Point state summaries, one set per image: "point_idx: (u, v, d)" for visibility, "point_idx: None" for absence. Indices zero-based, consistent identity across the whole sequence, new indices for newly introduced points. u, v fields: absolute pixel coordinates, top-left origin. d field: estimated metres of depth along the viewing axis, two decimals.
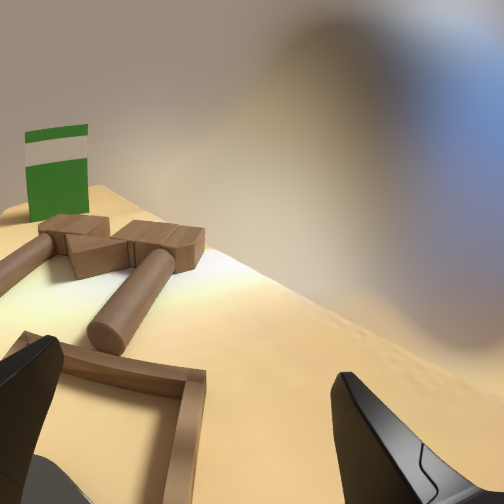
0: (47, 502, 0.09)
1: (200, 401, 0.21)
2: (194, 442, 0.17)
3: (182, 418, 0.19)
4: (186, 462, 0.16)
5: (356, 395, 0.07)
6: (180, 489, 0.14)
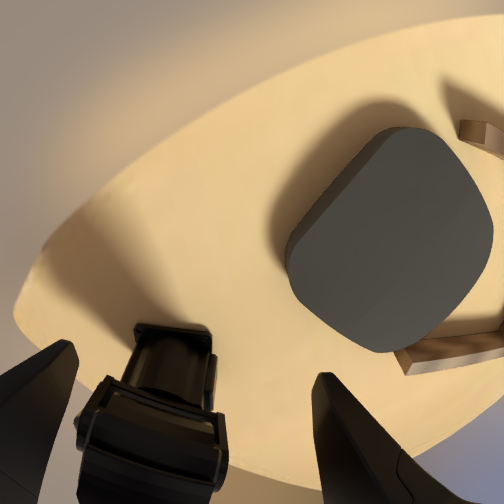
0: (457, 274, 0.18)
1: (495, 357, 0.22)
2: (475, 362, 0.21)
3: (491, 352, 0.21)
4: (466, 362, 0.21)
5: (334, 396, 0.07)
6: (452, 364, 0.21)
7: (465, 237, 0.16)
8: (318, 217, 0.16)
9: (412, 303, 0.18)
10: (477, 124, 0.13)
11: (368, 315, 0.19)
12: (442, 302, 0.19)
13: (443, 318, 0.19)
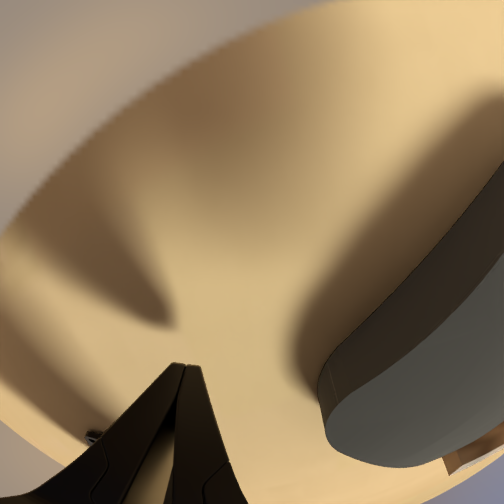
0: None
1: None
2: None
3: None
4: None
5: (186, 389, 0.06)
6: (499, 449, 0.11)
7: None
8: (409, 348, 0.06)
9: (488, 417, 0.09)
10: None
11: (432, 445, 0.09)
12: None
13: None
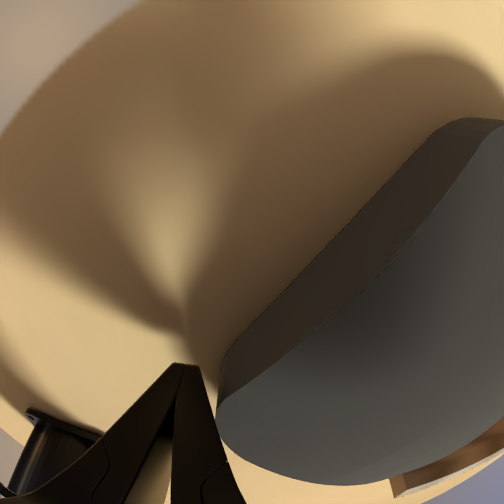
0: None
1: None
2: (490, 458, 0.11)
3: None
4: (479, 464, 0.11)
5: (185, 390, 0.06)
6: (460, 472, 0.11)
7: None
8: (276, 358, 0.06)
9: (443, 441, 0.08)
10: None
11: (368, 467, 0.08)
12: (485, 423, 0.08)
13: (479, 435, 0.09)
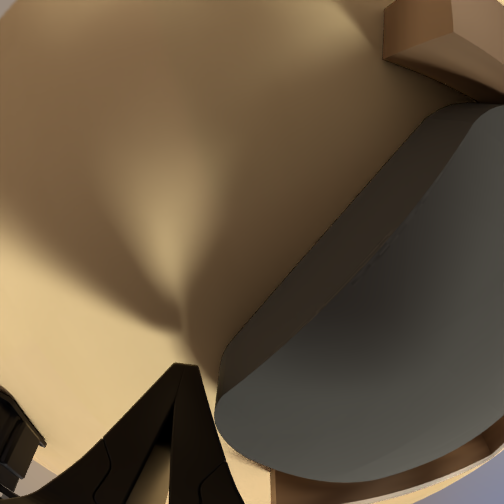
0: None
1: (462, 472, 0.11)
2: (420, 488, 0.11)
3: (453, 473, 0.11)
4: (400, 494, 0.11)
5: (183, 389, 0.06)
6: (369, 502, 0.11)
7: None
8: (269, 353, 0.06)
9: (449, 435, 0.08)
10: None
11: (373, 463, 0.08)
12: (492, 416, 0.08)
13: (486, 428, 0.09)
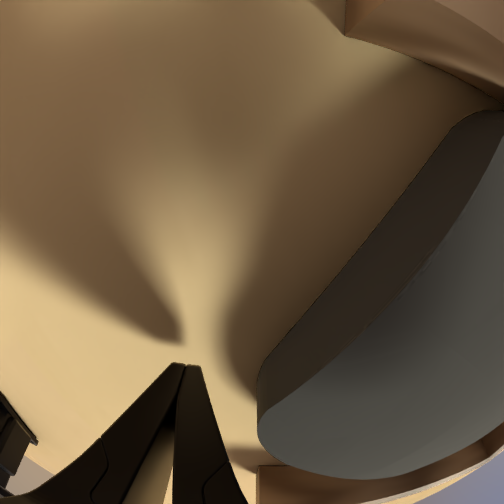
0: None
1: (458, 476, 0.11)
2: (414, 493, 0.11)
3: (448, 477, 0.10)
4: (392, 499, 0.10)
5: (186, 389, 0.06)
6: None
7: None
8: (317, 368, 0.06)
9: (474, 427, 0.08)
10: None
11: (404, 459, 0.08)
12: None
13: None
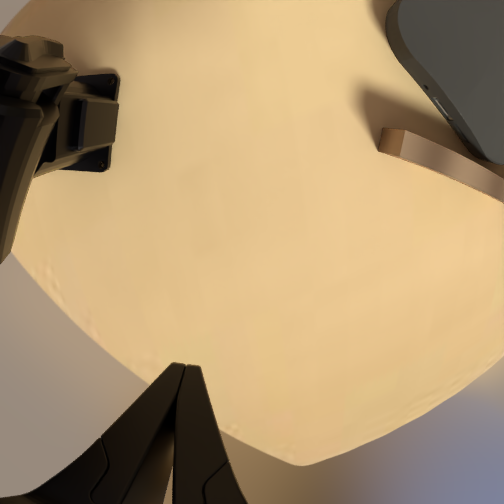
0: None
1: None
2: (500, 199, 0.14)
3: None
4: (488, 187, 0.14)
5: (186, 389, 0.06)
6: (468, 175, 0.14)
7: None
8: None
9: None
10: None
11: (476, 93, 0.12)
12: None
13: None
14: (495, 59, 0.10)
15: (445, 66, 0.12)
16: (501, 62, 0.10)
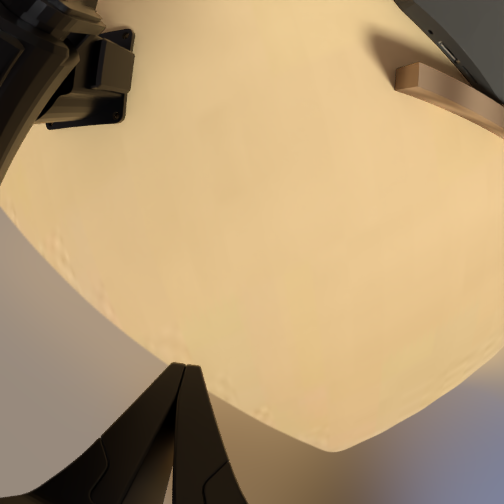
0: None
1: None
2: None
3: None
4: (503, 122, 0.12)
5: (186, 389, 0.06)
6: (484, 109, 0.12)
7: None
8: None
9: None
10: None
11: (477, 35, 0.10)
12: None
13: None
14: (489, 7, 0.08)
15: (445, 11, 0.10)
16: (495, 10, 0.08)
